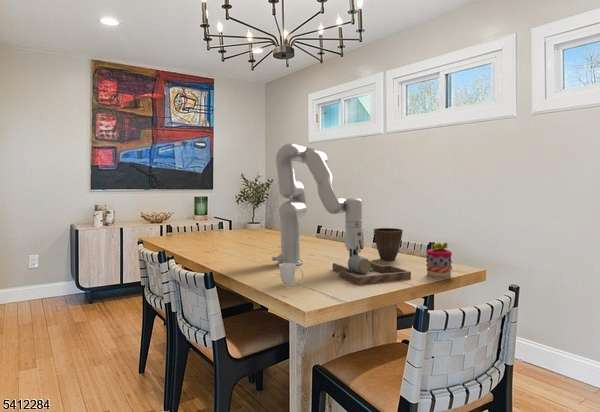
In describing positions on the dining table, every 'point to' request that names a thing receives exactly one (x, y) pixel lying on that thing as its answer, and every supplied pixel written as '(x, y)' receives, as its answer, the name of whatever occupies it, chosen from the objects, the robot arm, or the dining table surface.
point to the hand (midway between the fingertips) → (353, 263)
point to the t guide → (392, 276)
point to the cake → (439, 261)
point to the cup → (288, 273)
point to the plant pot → (388, 242)
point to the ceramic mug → (359, 264)
